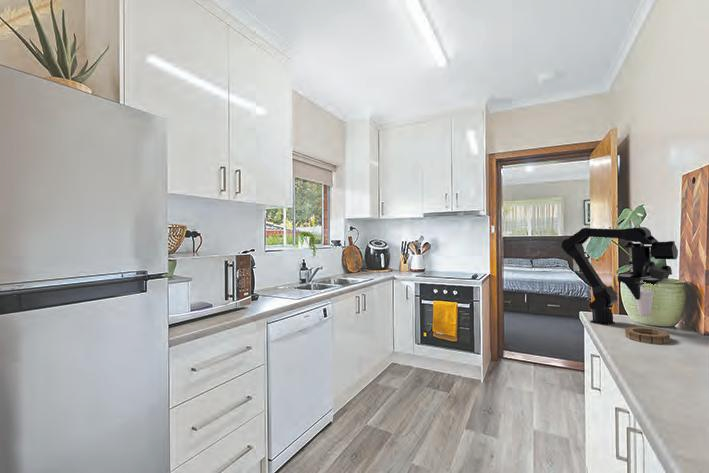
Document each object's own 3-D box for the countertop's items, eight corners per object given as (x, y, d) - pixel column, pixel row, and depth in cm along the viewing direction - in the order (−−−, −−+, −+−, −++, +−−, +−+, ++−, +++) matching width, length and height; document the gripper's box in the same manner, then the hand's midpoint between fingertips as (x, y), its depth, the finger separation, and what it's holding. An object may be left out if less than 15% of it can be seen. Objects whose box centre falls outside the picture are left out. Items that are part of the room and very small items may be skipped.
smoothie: (630, 314, 132) (628, 279, 132) (639, 312, 134) (637, 278, 134) (650, 318, 126) (648, 281, 126) (659, 315, 128) (656, 279, 129)
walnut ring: (617, 336, 125) (617, 329, 125) (640, 331, 128) (640, 325, 128) (654, 345, 113) (653, 338, 113) (678, 340, 116) (678, 333, 116)
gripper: (646, 261, 120) (649, 304, 120) (682, 257, 125) (685, 299, 125) (615, 260, 131) (617, 299, 130) (649, 256, 136) (651, 294, 136)
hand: (643, 298), depth 130 cm, fingers closed on smoothie, 6 cm apart
